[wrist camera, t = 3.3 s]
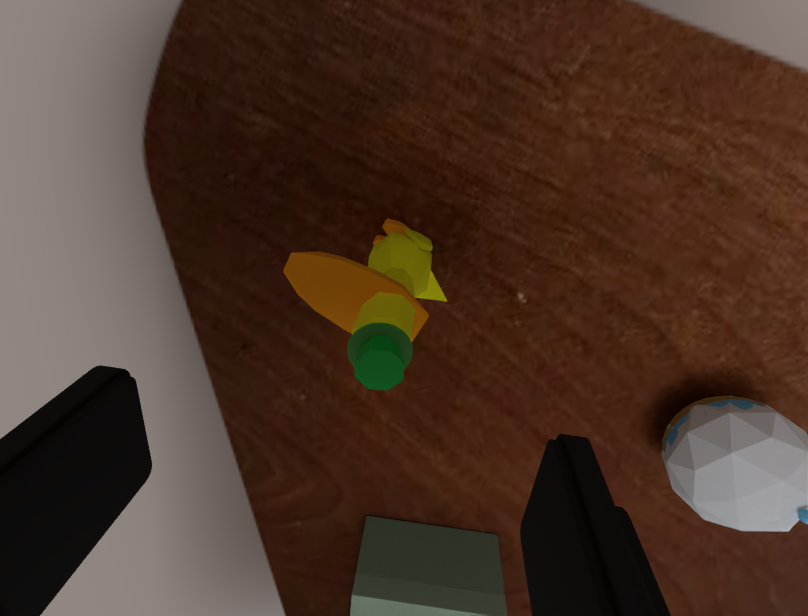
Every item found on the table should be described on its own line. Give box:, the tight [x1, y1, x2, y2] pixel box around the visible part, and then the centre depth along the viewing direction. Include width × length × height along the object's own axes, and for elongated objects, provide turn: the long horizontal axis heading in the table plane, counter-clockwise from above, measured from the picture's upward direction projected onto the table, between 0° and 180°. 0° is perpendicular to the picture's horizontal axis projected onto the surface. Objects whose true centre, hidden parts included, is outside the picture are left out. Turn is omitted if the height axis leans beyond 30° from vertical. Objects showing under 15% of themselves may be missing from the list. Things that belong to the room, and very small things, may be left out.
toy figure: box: [283, 219, 447, 390], centre depth 19 cm, size 7×4×12 cm, turn 61°
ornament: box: [661, 396, 808, 531], centre depth 24 cm, size 7×7×8 cm
